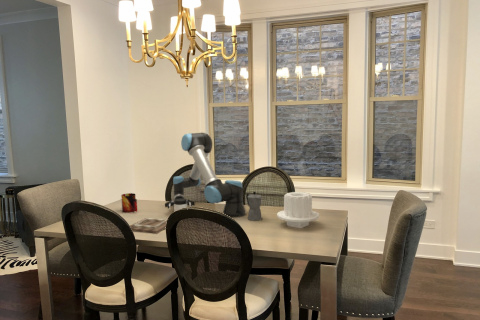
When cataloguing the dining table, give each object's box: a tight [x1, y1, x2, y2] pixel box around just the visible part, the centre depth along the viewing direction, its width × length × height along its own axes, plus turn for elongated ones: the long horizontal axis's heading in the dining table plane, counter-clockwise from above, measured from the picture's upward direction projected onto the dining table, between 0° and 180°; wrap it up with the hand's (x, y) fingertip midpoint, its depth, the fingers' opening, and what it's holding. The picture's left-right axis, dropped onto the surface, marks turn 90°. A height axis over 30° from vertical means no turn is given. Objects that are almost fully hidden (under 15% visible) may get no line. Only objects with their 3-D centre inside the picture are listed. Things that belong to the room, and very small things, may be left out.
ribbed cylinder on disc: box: [276, 191, 320, 229], centre depth 228 cm, size 25×25×19 cm
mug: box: [120, 192, 138, 214], centre depth 272 cm, size 10×14×12 cm
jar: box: [173, 197, 188, 212], centre depth 253 cm, size 9×8×12 cm
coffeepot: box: [246, 191, 263, 222], centre depth 245 cm, size 15×9×18 cm, turn 33°
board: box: [129, 217, 168, 234], centre depth 233 cm, size 22×22×3 cm
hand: (180, 207), depth 255 cm, fingers open, 13 cm apart
